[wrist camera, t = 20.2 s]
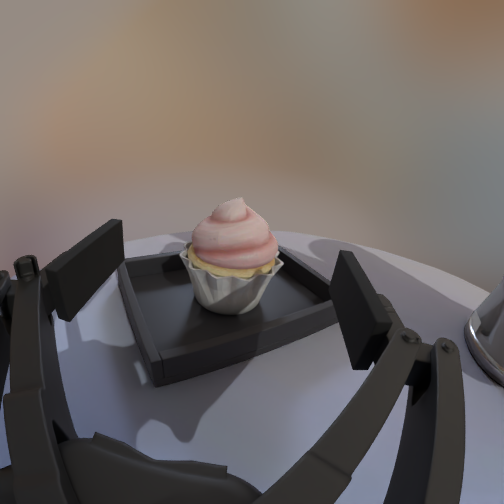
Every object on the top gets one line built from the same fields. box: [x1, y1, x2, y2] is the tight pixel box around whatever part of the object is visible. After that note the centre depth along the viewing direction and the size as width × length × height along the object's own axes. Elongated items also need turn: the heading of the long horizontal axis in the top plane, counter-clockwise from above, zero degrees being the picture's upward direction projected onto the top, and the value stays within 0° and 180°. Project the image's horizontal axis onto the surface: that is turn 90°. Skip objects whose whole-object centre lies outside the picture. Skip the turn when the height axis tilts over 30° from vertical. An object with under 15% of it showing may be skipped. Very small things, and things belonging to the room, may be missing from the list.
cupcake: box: [180, 197, 284, 315], centre depth 25 cm, size 9×9×10 cm
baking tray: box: [117, 245, 339, 387], centre depth 27 cm, size 20×15×3 cm
